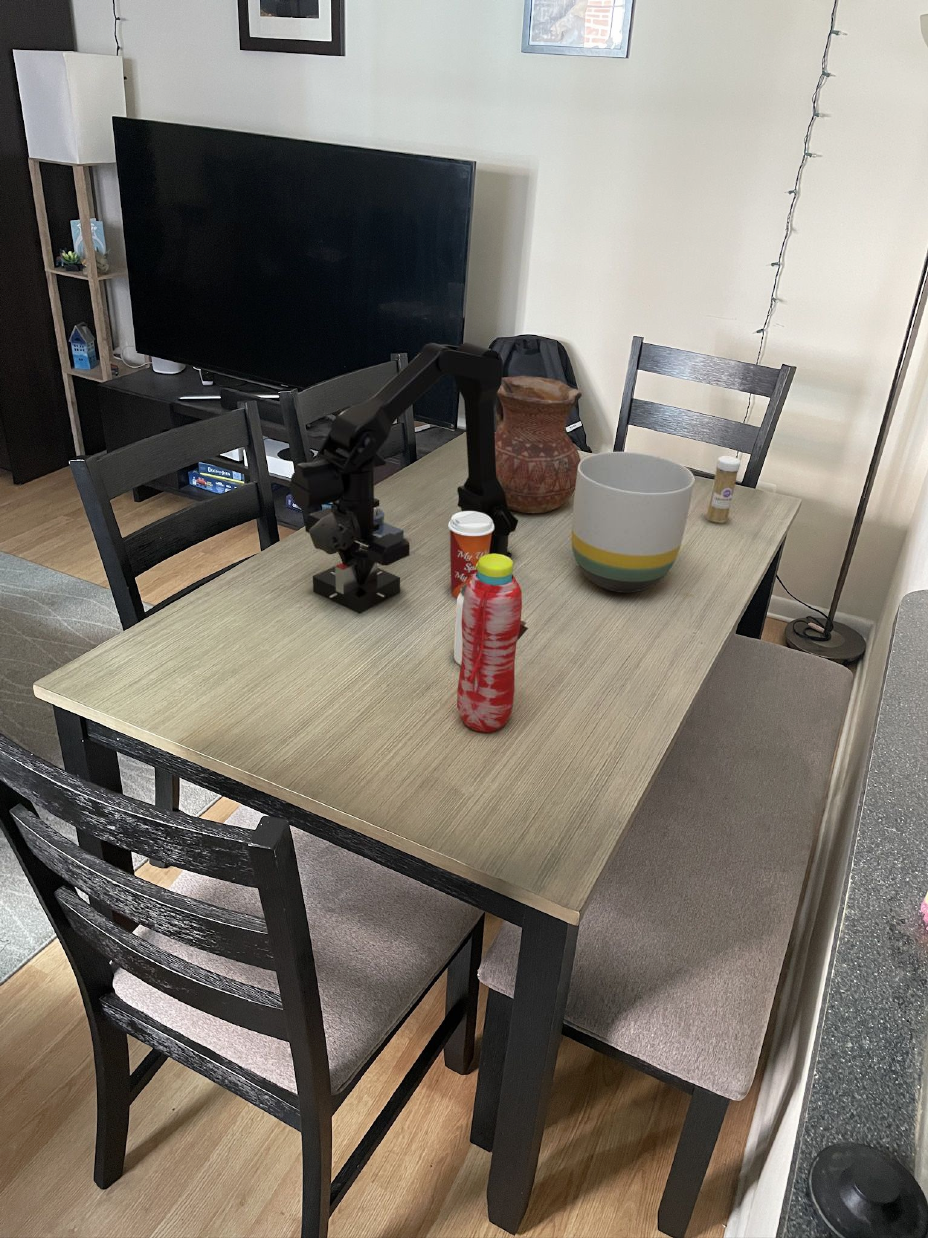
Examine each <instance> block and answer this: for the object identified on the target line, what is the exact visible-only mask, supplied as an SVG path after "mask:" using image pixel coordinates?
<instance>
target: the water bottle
mask: <svg viewBox="0 0 928 1238" xmlns="http://www.w3.org/2000/svg"><path fill="white" fill-rule="evenodd" d="M476 568H477V569H478V571H477V572H476V573H475V575H474V577H472V578H471V579H470V581H469V582H468V585H467V587H466V590H465V595H464V600H463V608H462V642H463V645H462V662H461V666H460V669H459V675H458V676H459V677H458V683H457V684H458V685H457V692H456V698H457V699H456V707H457V710H458V714H459V715H460V717H461V721H462V722H463V723H464V725H465V726H466V727H468V728H470V729H471V730H472V731H475V732H482V733H488V732H495V731H497V730H499V729H501V728H503V727H504V725H506V723H507V721H508V720H509V718H510V716H511V714H512V710H513V704H514V699H515V698H514V697H515V671H516V669H515V667H516V665H515V663H516V662H515V661H516V653H517V652H516V650H517V642H518V641H519V640H520V639H521V638H522V636H523V635H524V634H525V633H526V632H527V631H528V630H529V628H528V626H526V625H527V623H528V622H527V621H523V620H522V612H523V611H522V610H523V594H522V588H521V586H520V583H519V582H518V581H517V579H516V577H515V575H514V574H513V570H514V561H513V560H512V558H510V557H507V556H504V555H501V554H486V555H484V556H482V557H480V559H479V561H478V562H477V564H476Z"/></svg>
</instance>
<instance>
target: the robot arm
mask: <svg viewBox="0 0 928 1238" xmlns="http://www.w3.org/2000/svg"><path fill="white" fill-rule="evenodd" d="M420 349H421V350H420V352H419V353H418V354H417V356H415V357H414V358H413V359H412V360H411V361H410V362H409V363H408V364H407V365H406V366H405V367H404V368H403V369H401V370H400V371H399V372H398V373H397V374H396V375H395V376H394V377H393V378H392V379H391V380H390V381H388V382H387V383H386V384H385V385H384V386H383V387H382V388H381V389H379V391H378V392H377V393H376V394H375V395H373V396H372V397H370V398H369V399H367V400H365V401H363V402H359V403H357V404H353V405H352V406H350V407H348V408H347V409H345V410H344V411H342V412H341V413H340V414H338V415H337V416H336V417H335V418H334V419H333V420H332V422H331V423H330V430H329V432H328V434H327V435H326V437H325V439H324V440H323V442H322V444H321V446H320V448H319V450H318V451H317V453H316V457H317V458H318V459H320V460H315V461H311V462H301V463H297V464H296V465H295V468H296V471H295V472H293V473H292V474H291V478H290V480H289V484H288V485H289V491H290V495H291V499H292V500H293V502H294V504H295V506H296V507H297V508H298V509H299V510H308V509H312V508H316V507H320V506H324V505H327V504H330V507H326V508H323V509H320V510H318V511H315V512H313V513H310V514H308V516H307V517H306V519H305V521H304V529H305V530H304V531H305V533H308V534H309V535H310V539H311V541H312V544H313V547H314V548H315V549H316V550H321V551H322V552H325V553H326V554H328V555H335V554H338V556H339V558H340V560H341V563H344V562H347V561H349V560H351V559H353V558H356V562H357V578H358V584H359V585H362V584H364V583H365V581H366V579H367V577H368V575H369V573H370V572H371V570H372V568H373V566H374V564H375V562H376V563H377V565H380V566H383V567H384V566H390V565H392V564H394V563H396V562H398V561H400V560H403V559H405V558H406V557H409V556H410V550H411V549H410V542H409V541H408V540H407V539H406V538H404V537H403V538H401V537H399V536H396V535H394V534H391V533H389V534H387V535H384V536H381V535H379V534H374V531H377V530H379V523H376V522H374V508H378V507H380V499H378V498H375V468H379V467H382V466H385V465H386V464H387V461H386V460H385V459H384V458H382V457H381V456H380V455H379V453H378V451H379V450H380V448H381V447H382V446H383V445H384V444H385V442H386V441H387V440H388V438H389V435H390V432H391V429H392V426H393V425H394V423H395V422H396V421H397V420H398V418H400V417H401V416H402V415H403V414H404V413H405V412H406V411H407V410H408V409H409V408H410V407H411V406H412V405H414V403H416V402H417V401H418V400H419V399H420V398H421V397H422V396H423V395H424V394H425V393H426V392H427V391H428V390H429V389H430V388H431V387H432V386H433V385H434V384H436V382H438V381H439V380H440V379H441V378H442V377H443V376H444V375H445V374H448V375H449V374H450V375H453V381H454V383H455V385H456V387H457V389H458V391H459V393H460V394H461V397H462V398H463V402H464V403H463V405H464V420H465V437H466V451H467V452H466V455H467V456H466V457H467V470H468V471H467V472H468V473H467V474H468V476H467V478H466V480H465V481H464V484H463V485H460V486H458V487H457V489H456V491H457V496H458V502H457V507H458V508H460V512H463V511H476V512H480V513H484V514H486V515H488V516H489V517H490V518H491V519H492V521H493V524H494V530H493V531H492V535H491V542H490V550H489V554H501V555H504V556H507V557H509V558H510V557H512V554H513V553H512V552H511V551H509V550H508V547H509V536H510V535H511V533H514V532H516V529H517V526H518V523H519V519H518V518H517V517H515V516H514V514H513V513H511V511H510V509H508V506H507V500H506V495H505V491H504V489H503V488H502V486H501V484H500V482H499V480H498V478H497V475H496V453H495V432H496V431H495V430H496V427H495V404H494V401H495V398H496V396H497V392H498V390H499V388H500V386H501V383H502V378H503V371H504V358H503V356H502V355H501V354H500V353H499V352H498V351H496V350H494V349H490V348H488V347H485V346H482V345H479V344H475V343H473V342H470V341H465V342H463V343H461V344H459V346H458V345H457V346H456V345H451V344H438V343H434V342H430V343H427V344H425V345H423V347H422V348H420ZM338 449H340V450H341V451H343V452H344V453H347V454H348V456H345V455H343V454H342V453H340V452H338V451H337V450H338ZM331 503H332V504H331Z"/></svg>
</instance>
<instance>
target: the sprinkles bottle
mask: <svg viewBox="0 0 928 1238" xmlns="http://www.w3.org/2000/svg"><path fill="white" fill-rule="evenodd" d="M715 465H716V469H715V475H714V479H713V482H712V487H711V492H710V496H709V497H710V498H709V501H708V508H707V513H706V516H705V518H706V520H708V521H709V522H711V523H715V524H725V523H727V522H728V521H729V513H730V509H731V506H732V501H733V497H734V493H735V492H734V491H735V486H736V482H737V477H738V473H739V471H740V468H741V460H740V459H739V458H737V457H734V456H730V455H722V456H719V457H718V458H717V461H716V464H715Z"/></svg>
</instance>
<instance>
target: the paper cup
mask: <svg viewBox="0 0 928 1238" xmlns="http://www.w3.org/2000/svg"><path fill="white" fill-rule="evenodd" d="M447 526H448V529H449V544H450V545H449V547H450V548H449V553H450V554H449V555H450V556H449V557H450V559H449V562H450V563H449V564H450V593H451V595H452V597H454V598H455V599H457V598H458V596H459V594H460V589H461V587H462V586H463V585H465V584H467V583H468V582H469V581H470V579H471V578H472V577H474V575H475V573H476V572H477V571H478V569H477V568H476V564H477V562H478V561H479V559H480V557H482V556H484V555H486V554H489V550H490V542H491V535H492V531H493V530H494V524H493V521H492V519H491V518H490V517H489V516H488V515H486V514H484V513H480V512H476V511H463V512H462V511H459V512H455V513H454V514H453V515H452V516H451V518H450V520H449V522H448V524H447Z"/></svg>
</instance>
